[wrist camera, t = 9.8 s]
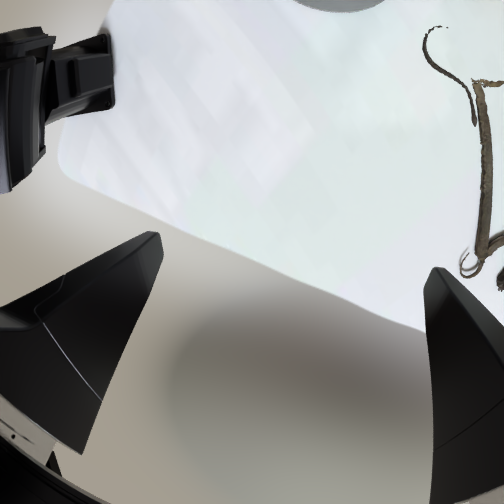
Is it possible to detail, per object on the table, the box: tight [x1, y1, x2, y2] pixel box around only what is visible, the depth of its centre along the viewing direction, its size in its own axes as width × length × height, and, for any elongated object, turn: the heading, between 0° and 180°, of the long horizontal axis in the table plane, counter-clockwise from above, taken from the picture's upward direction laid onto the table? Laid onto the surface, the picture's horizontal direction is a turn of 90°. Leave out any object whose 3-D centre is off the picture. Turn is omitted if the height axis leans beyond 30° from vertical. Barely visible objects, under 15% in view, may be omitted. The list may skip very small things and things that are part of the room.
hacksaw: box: [422, 26, 504, 292], centre depth 17 cm, size 24×10×2 cm, turn 16°
